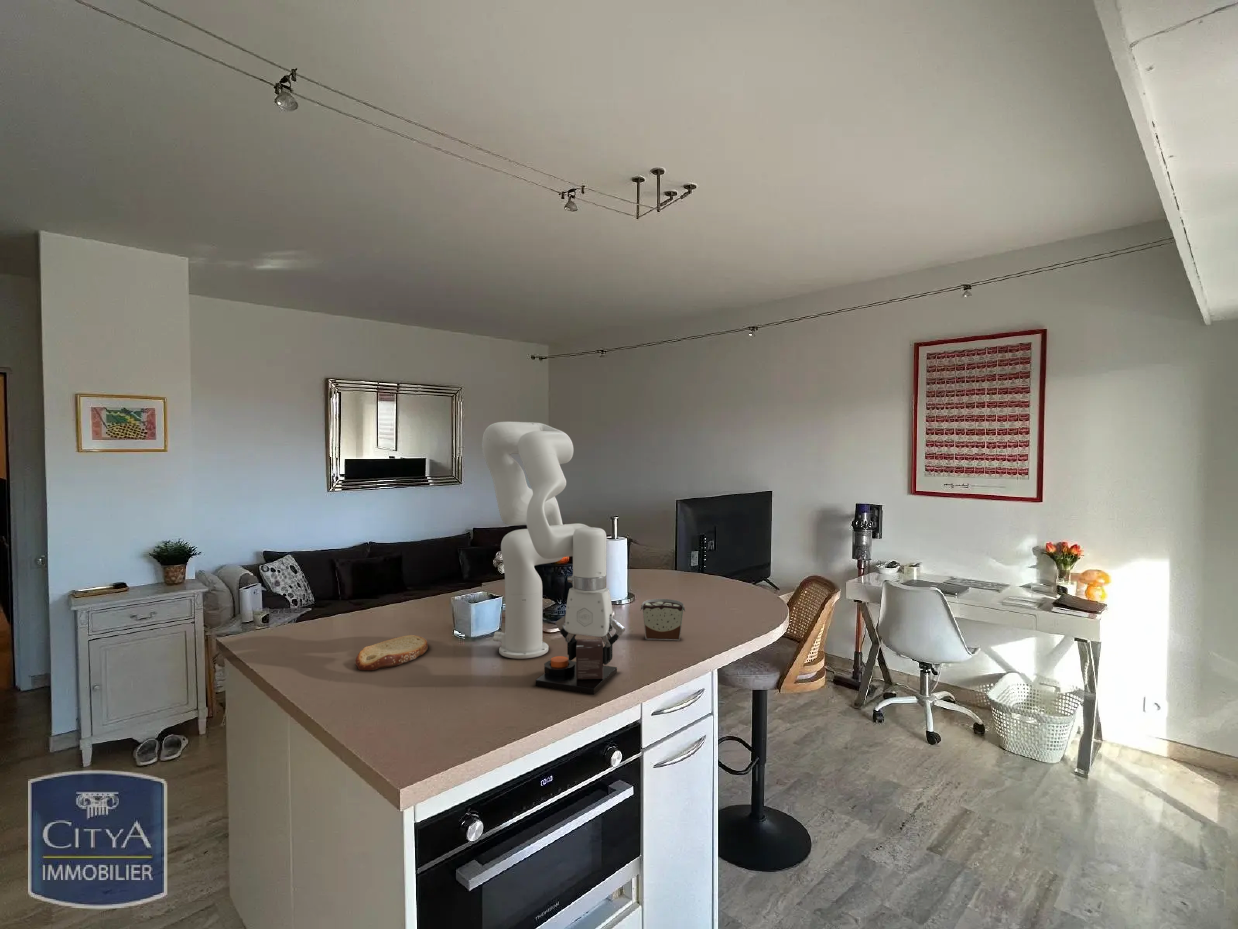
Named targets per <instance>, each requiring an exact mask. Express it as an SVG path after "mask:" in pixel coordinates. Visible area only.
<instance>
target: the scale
mask: <svg viewBox="0 0 1238 929" xmlns="http://www.w3.org/2000/svg"><path fill="white" fill-rule="evenodd" d="M543 668H544V669H543V671H544V673H543V674H542V675H540V676H539V677H538V678H536V679H535V687H539V688H545V689H551V690H559V691H564V692H570V693H571V692H573V693H578V694H584V695H585V694H586V695H592V696H595V695H596V693H597V692H599V691H600V690H601V689H602V688H603V687H604V686H605V685H606V684H607V683H608V682H609V681H610V680H611V679H612V678H613V677H614V676H615V675H617V674H618V666H611V665H604V664H603V679H578V680H577V678H576V661H573V660H569V659H568V666H566V667H560V668H557V667H552V666H551V659H550V660H547V661H546V662H544V663H543Z"/></svg>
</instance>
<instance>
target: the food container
mask: <svg viewBox="0 0 1238 929" xmlns="http://www.w3.org/2000/svg"><path fill="white" fill-rule="evenodd" d="M639 611H642V616H643V617H642V619H643V624H644V625H643V628H644V637H645V640H647V641H648V640H653V641H681V634H682V633H681V632H682V623H683V615H684V612H686V607H685V605H684V603H683V602H682V601H680V600H677V599H671V598H652V599H647V600H644V601H643V602H642V603H641V605H640V610H639Z"/></svg>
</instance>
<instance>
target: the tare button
mask: <svg viewBox="0 0 1238 929" xmlns="http://www.w3.org/2000/svg"><path fill="white" fill-rule="evenodd" d="M550 660H551V666H552V667H557V668H560V667H566V666H568V660H569V657H566V656H564V655H557V656H554V657H551V658H550Z"/></svg>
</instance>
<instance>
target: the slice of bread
mask: <svg viewBox="0 0 1238 929" xmlns="http://www.w3.org/2000/svg"><path fill="white" fill-rule="evenodd" d="M428 649H429V644H428V641H427V639H426V638H424V637H423V636H419V635H413V634H408V635H401V636H398V637H394V638H389V639H386V640H383V641H381V642H377V643H374V644H371V645H367V646H365V647H363V648H362V649H361V650H360V651H359V652H358V654H357V656H356V658H355V661H354V662H355V665H356V666H357V669H358V671H359V670H360V671H376V670H379V669H384V668H391V667H397V666H400V665H402V664H407V663H409V662H411V661H413V660H416V659H417V658H418V657H420V656H422V655H424V654H425V653H426V652H427V650H428Z"/></svg>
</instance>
